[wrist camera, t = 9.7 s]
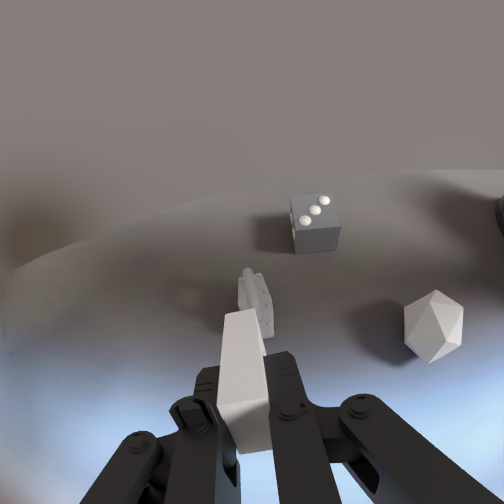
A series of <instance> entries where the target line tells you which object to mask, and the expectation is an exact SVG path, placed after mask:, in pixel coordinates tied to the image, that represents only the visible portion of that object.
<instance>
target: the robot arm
mask: <svg viewBox="0 0 504 504" xmlns="http://www.w3.org/2000/svg"><path fill="white" fill-rule="evenodd" d="M496 217H497V221H498V224H499V226H500V229H501V231H502V233H503V235H504V195H503V197H502V198H501V199H500V201H499V202H498V204H497V206H496ZM195 385H196V386H195V389H194V394H193V396H188V397H184V398H182V399H180V400H178V401H176V402H175V403H174V404H173V405H172V406H171V408H170V410H169V413H170V414H171V416H172V418H173V420H174V421H175V423H176V425H177V426H178V428H179V429H178V431H177V432H175V433H172V434H169V435H166V436H162V437H159V438H156V437H155V436H154V435H153V434H152V433H150V432H148V431H138V432H134V433H132V434H130V435H128V436H127V437H126V438H125V439H124V440H123V441H122V443H121V444H120V446H119V447H118V449H117V450H116V451H115V453H114V454H113V456H112V457H111V459H110V460H109V462H108V463H107V464H106V466H105V467H104V469H103V470H102V472H101V473H100V475H99V476H98V477H97V479H96V480H95V482H94V483H93V485H92V486H91V488H90V489H89V490H88V492H87V493H86V495H85V496H84V498H83V499H82V501H81V502H80V503H79V504H241V484H240V465H239V462H238V460H237V458H236V448H237V450H238V452H239V454H246V453H253V452H260V451H266V450H272V449H273V456H274V464H275V472H276V479H277V487H278V494H279V502H280V504H342V502H341V499H340V495H339V492H338V489H337V486H336V482H335V479H334V476H333V473H332V469H331V466H330V463H342V464H343V465H344V466H345V468H346V469H347V470H348V472H349V473H350V474H351V475H352V477H353V478H354V479H355V481H356V482H357V483H358V484H359V486H360V487H361V488H362V489H363V491H364V492H365V493H366V494H367V496H368V497H369V498H370V499H371V500H372V502H373V503H374V504H504V502H503V501H502V500H501V499H499V498H498V497H497V496H496V495H494V494H493V493H492V492H490V491H489V490H488V489H487V488H485V487H484V486H483V485H482V484H480V483H479V482H478V481H477V480H475V479H474V478H473V477H472V476H470V475H469V474H468V473H467V472H465V471H464V470H463V469H462V468H460V467H459V466H458V465H457V464H456V463H454V462H453V461H452V460H451V459H450V458H448V457H447V456H446V455H445V454H443V453H442V452H441V451H440V450H439V449H437V448H436V447H435V446H434V445H433V444H432V443H430V442H429V441H428V440H427V439H426V438H424V437H423V436H422V435H421V434H420V433H419V432H417V431H416V430H415V429H414V428H413V427H412V426H410V425H409V424H408V423H407V422H406V421H405V420H403V419H402V418H401V417H400V416H399V415H398V414H396V413H395V412H394V411H393V410H392V409H391V408H390V407H388V406H387V405H386V404H385V403H384V402H383V401H382V400H380V399H379V398H378V397H376V396H374V395H370V394H357V395H354V396H351V397H349V398H347V399H346V400H345V401H343V402H342V404H341V406H340V407H320V406H317V405H315V404H313V403H311V402H310V401H309V400H308V398H307V396H306V392H305V389H304V386H303V383H302V380H301V377H300V374H299V370H298V367H297V364H296V361H295V358H294V356H293V355H291V354H290V353H289V352H288V351H285V352H280V353H276V354H271V355H267V356H266V351H265V347H264V343H263V339H262V335H261V331H260V327H259V323H258V319H257V315H256V311H255V308H252V309H247V310H243V311H238V312H233V313H228V314H225V321H224V331H223V341H222V352H221V363H220V366H214V367H208V368H203V369H202V370H201V372H200V373H199V374H198V375H197V378H196V383H195Z"/></svg>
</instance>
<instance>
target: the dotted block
mask: <svg viewBox="0 0 504 504" xmlns="http://www.w3.org/2000/svg"><path fill="white" fill-rule="evenodd" d="M290 212H291V213H290V219H291V227H292V234H293V241H294V248H295V254H304V253H314V252H324V251H334V250H336V246H337V242H338V238H339V233H340V229H341V224H340V221H339V217H338V213H337V210H336V206H335V203H334V199H333V196H332V193H322V194H309V195H297V196H290Z"/></svg>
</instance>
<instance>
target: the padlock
mask: <svg viewBox="0 0 504 504" xmlns="http://www.w3.org/2000/svg"><path fill="white" fill-rule="evenodd" d="M242 274H243V276H242V277H239V278H238V307H239V310H240V311H243V310H247V309H252V308H255V311H256V315H257V319H258V323H259V327H260V331H261V335H262V339H266V338H271V337H274V314H273V305H272V298H271V296H270V293H269V291H268V288H267V286H266V283H265V281H264V278H263V276H262V274H261V273H257V274H253V271H252V269H251V268H245V269H244V270H243V272H242Z"/></svg>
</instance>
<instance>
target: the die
mask: <svg viewBox="0 0 504 504" xmlns="http://www.w3.org/2000/svg"><path fill="white" fill-rule="evenodd" d="M462 324H463V307H462V306H461V305H459V304H458V303H456V302H455V301H453V300H452V299H450V298H449V297H447V296H446V295H444V294H443V293H441V292H440V291H438V290H435V291H433V292H431V293H429V294H428V295H426V296H424V297H422V298H421V299H419V300H417V301H415V302H413V303H411V304H410V305H408V306H406V307H404V343H405V344H406V345H407V346H408V347H409V348H410V349H411V350H412V351H413V352H415V353H416V354H417V355H418V356H419V357H420V358H421V359H422V360H423V361H424V362H425V363H426V364H429V363H431V362H433V361H435V360H437V359H438V358H440V357H442V356H444V355H445V354H447V353H449V352H450V351H452V350H454V349H456V348H457V347H459V346H460V345H461V338H462Z"/></svg>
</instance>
